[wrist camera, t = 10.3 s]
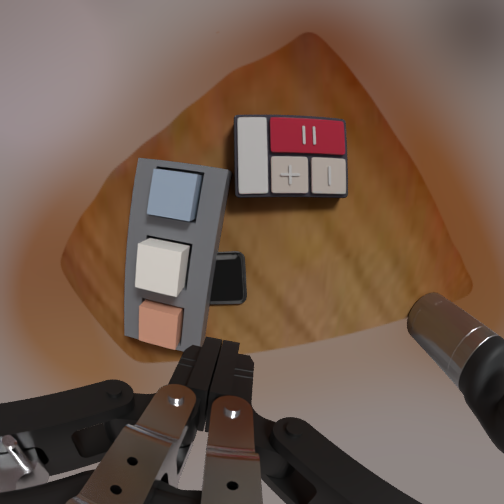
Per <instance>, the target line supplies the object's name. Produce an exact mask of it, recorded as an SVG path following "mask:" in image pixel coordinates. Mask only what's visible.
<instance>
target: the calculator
mask: <svg viewBox="0 0 504 504" xmlns="http://www.w3.org/2000/svg"><path fill="white" fill-rule="evenodd" d="M234 165H235V195H236V197H239V198H241V197H334V198H346V197H347V196H348V168H347V140H346V123H345V121H344V120H343V119H336V118H325V117H312V116H294V115H236V116H235V117H234Z"/></svg>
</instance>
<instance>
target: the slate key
mask: <svg viewBox="0 0 504 504" xmlns="http://www.w3.org/2000/svg"><path fill="white" fill-rule="evenodd" d="M203 178H204V176H202V175H198V174H191V173H184V172H177V171H170V170H162V169H154V170H153V176H152V182H151V188H150V194H149V201H148V208H147V214H150V215H156V216H162V217H167V218H173V219H179V220H184V221H192V220H194V219H196V218H197V212H198V206H199V200H200V195H201V189H202V183H203Z"/></svg>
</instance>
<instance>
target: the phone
mask: <svg viewBox="0 0 504 504" xmlns="http://www.w3.org/2000/svg"><path fill="white" fill-rule="evenodd" d="M246 297H247V288H246V269H245V257H244V255H243V254H242V253H241V252H238V251H231V252H218V253H217V258H216V264H215V270H214V277H213V283H212V290H211V296H210V303H209V304H241V303H243V302H244V301H245V300H246Z"/></svg>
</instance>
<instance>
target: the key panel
mask: <svg viewBox="0 0 504 504" xmlns="http://www.w3.org/2000/svg"><path fill="white" fill-rule="evenodd" d="M154 169H162V170H170V171H177V172H184V173H191V174H198V175H202V176H204V178H203V183H202V189H201V195H200V200H199V206H198V212H197V218H196V219H194V220H192V221H184V220H179V219H173V218H167V217H162V216H156V215H150V214H147V208H148V201H149V194H150V188H151V182H152V176H153V170H154ZM231 176H232V172H231V171H229V170H227V169H221V168H214V167H208V166H201V165H194V164H187V163H179V162H171V161H163V160H154V159H144V158H139V159H138V164H137V170H136V176H135V182H134V188H133V195H132V203H131V211H130V219H129V229H128V239H127V252H126V268H125V296H124V328H125V335H126V336H129V337H132V338H135V339H139V306H140V305H141V304H142V303H143V302H144V301H145V300H146V299H149V300H153V301H157V302H161V303H165V304H169V305H173V306H177V307H182V308H184V318H183V328H182V338H181V340H180V342H179V343H178V345H177V347H176V349H175V350H179V351H184V350H185V349H187V348H188V347H190V346H191V345H196V346H201V347H202V345H203V342H204V339H205V334H206V326H207V319H208V312H209V306H210V304H209V303H210V296H211V290H212V283H213V277H214V270H215V264H216V258H217V253H218V248H219V243H220V237H221V231H222V225H223V219H224V214H225V208H226V203H227V197H228V192H229V187H230V181H231ZM149 238H153V239H158V240H163V241H168V242H173V243H178V244H183V245H189V246H190V249H189V256H188V263H187V271H186V279H185V287H184V288H183V289H182V291H181V292H180V293H179V295H178V296H177V297H174V296H170V295H166V294H161V293H157V292H153V291H149V290H145V289H141V288H137V287H135V278H136V262H137V250H138V243H140V242H142V241H144V240H147V239H149Z"/></svg>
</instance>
